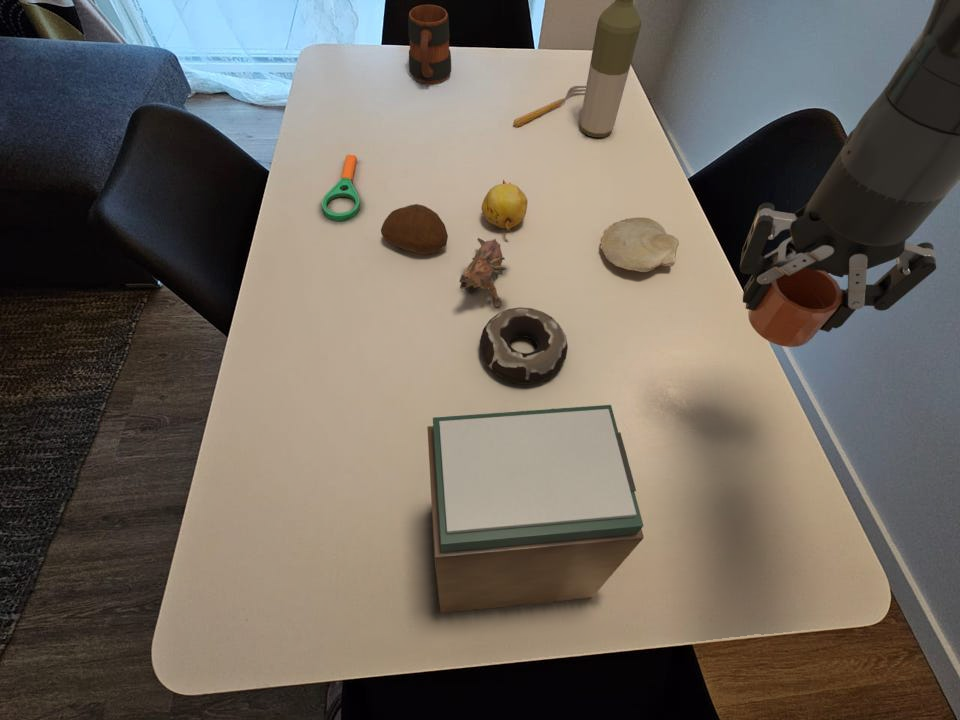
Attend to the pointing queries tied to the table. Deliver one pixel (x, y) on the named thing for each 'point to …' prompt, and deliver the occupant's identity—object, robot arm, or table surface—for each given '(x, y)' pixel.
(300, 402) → the table surface
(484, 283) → the dinosaur figurine
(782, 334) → the bowl
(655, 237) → the seashell
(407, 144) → the table surface
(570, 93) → the fork
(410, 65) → the mug
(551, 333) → the donut
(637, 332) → the table surface
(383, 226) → the potato
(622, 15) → the bottle
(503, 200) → the fruit
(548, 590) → the stand
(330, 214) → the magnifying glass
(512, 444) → the scale
